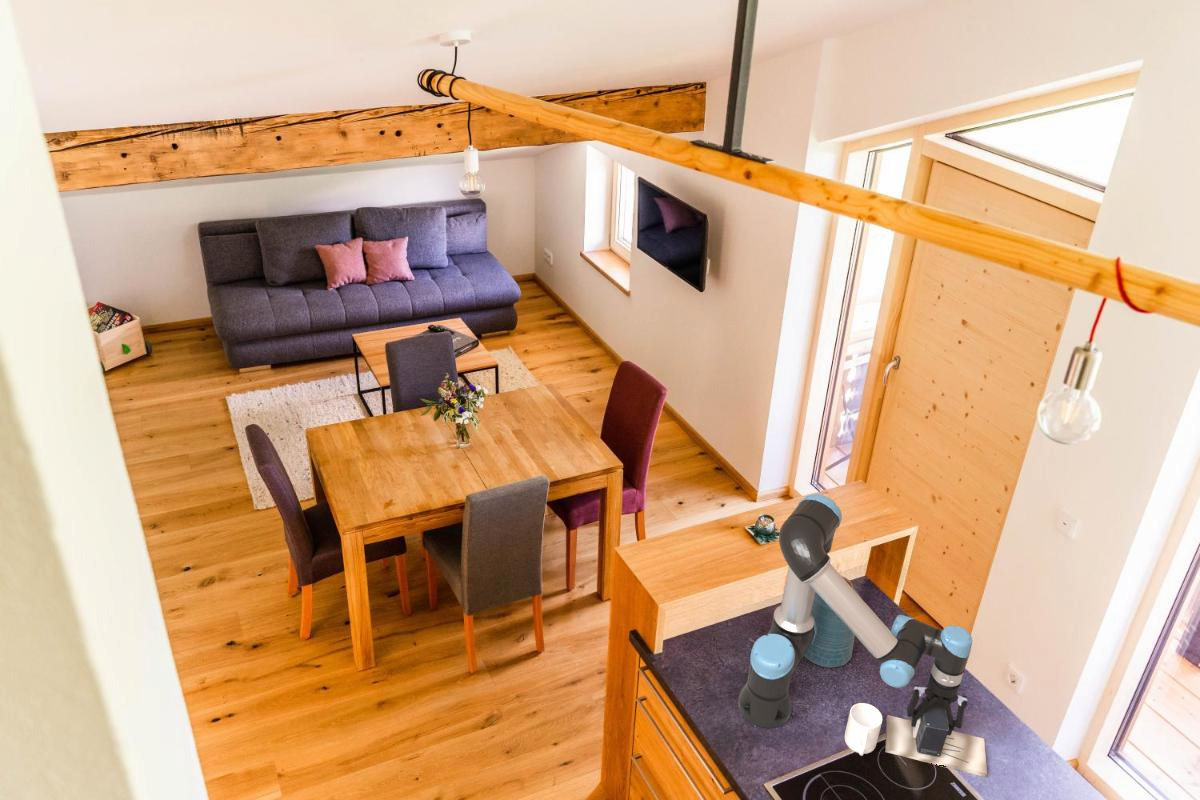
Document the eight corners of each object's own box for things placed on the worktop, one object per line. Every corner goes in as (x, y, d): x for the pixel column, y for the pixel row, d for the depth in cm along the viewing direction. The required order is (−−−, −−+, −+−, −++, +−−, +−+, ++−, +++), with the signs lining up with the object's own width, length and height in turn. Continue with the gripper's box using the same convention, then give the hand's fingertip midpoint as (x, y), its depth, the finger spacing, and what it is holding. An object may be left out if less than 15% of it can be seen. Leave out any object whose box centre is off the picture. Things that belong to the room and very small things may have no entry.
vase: (787, 648, 277) (798, 582, 264) (818, 624, 287) (831, 559, 274) (831, 678, 267) (845, 611, 254) (861, 652, 276) (877, 586, 263)
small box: (941, 757, 240) (950, 731, 235) (916, 753, 241) (924, 726, 236) (937, 727, 249) (945, 700, 244) (913, 722, 250) (920, 696, 245)
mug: (843, 761, 241) (849, 733, 236) (844, 726, 251) (850, 699, 246) (875, 768, 239) (883, 741, 234) (875, 733, 249) (882, 706, 244)
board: (885, 751, 244) (886, 748, 243) (886, 718, 254) (887, 714, 253) (985, 777, 237) (987, 773, 237) (982, 742, 247) (984, 738, 247)
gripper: (906, 678, 233) (891, 738, 244) (986, 697, 228) (966, 757, 239) (907, 658, 239) (891, 718, 250) (984, 676, 234) (965, 736, 245)
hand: (928, 737), depth 244 cm, fingers closed on small box, 7 cm apart
